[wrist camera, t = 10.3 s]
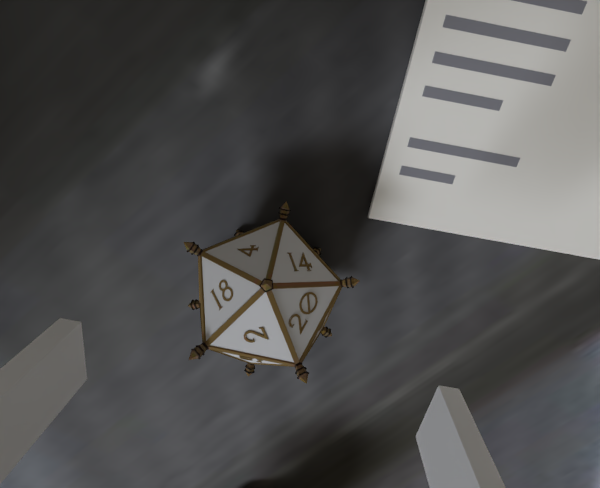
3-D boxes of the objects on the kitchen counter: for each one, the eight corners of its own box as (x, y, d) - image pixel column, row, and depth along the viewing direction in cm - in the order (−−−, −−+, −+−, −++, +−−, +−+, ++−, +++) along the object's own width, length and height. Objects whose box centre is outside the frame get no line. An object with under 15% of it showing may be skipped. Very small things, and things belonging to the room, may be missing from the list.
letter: (367, 215, 20) (368, 218, 20) (449, -91, 15) (453, -96, 14) (657, 267, 21) (663, 271, 20) (843, -8, 15) (857, -11, 15)
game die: (273, 212, 24) (280, 139, 15) (356, 302, 23) (421, 288, 14) (170, 297, 22) (98, 279, 13) (256, 399, 21) (250, 464, 12)
